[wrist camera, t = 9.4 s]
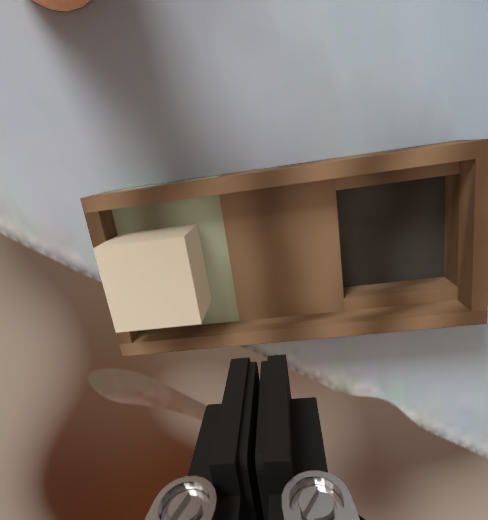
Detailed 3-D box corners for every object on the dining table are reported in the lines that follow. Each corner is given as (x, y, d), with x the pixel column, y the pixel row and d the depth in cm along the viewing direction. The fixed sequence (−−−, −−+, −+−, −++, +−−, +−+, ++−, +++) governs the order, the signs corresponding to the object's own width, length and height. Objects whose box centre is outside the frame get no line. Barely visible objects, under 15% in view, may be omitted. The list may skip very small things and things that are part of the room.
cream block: (197, 223, 27) (184, 236, 23) (211, 300, 28) (201, 323, 24) (118, 234, 27) (92, 248, 23) (136, 308, 29) (115, 332, 25)
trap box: (458, 140, 26) (494, 138, 22) (455, 297, 29) (486, 323, 25) (109, 191, 29) (80, 198, 25) (142, 328, 32) (122, 356, 28)
